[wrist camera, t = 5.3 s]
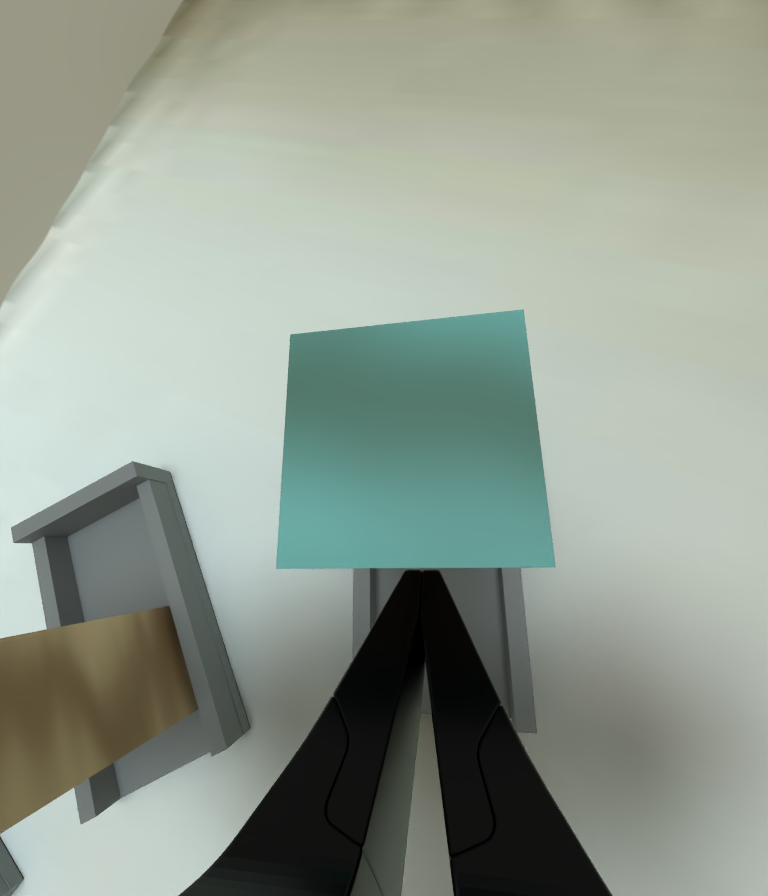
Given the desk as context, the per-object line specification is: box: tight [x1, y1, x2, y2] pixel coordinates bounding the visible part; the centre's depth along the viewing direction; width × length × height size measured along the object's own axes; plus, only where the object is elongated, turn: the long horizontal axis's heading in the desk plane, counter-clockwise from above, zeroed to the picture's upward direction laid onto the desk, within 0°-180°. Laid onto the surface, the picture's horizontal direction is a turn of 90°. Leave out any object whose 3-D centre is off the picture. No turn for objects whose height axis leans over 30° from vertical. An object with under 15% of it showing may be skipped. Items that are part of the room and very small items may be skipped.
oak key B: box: [0, 606, 198, 834], centre depth 12 cm, size 4×4×11 cm
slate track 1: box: [11, 461, 250, 824], centre depth 17 cm, size 13×7×2 cm, turn 27°
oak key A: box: [276, 310, 555, 569], centre depth 12 cm, size 4×4×11 cm
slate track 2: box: [353, 568, 537, 733], centre depth 16 cm, size 13×7×2 cm, turn 1°
